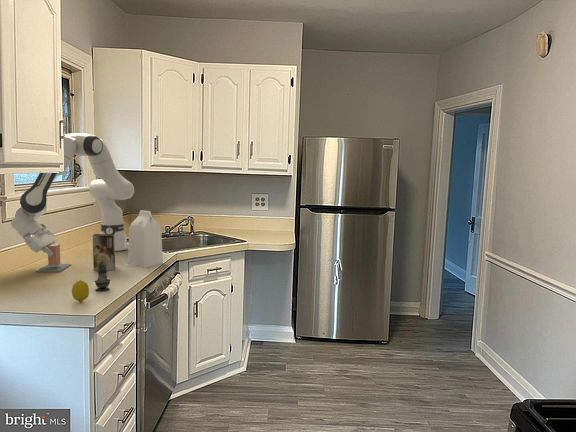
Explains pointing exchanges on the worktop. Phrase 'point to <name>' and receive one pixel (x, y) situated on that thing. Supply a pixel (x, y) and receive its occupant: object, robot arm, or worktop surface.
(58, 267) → the mat
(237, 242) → the worktop surface
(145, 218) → the milk
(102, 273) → the dark ornate vase
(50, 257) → the stub
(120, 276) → the worktop surface
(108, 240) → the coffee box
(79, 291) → the lemon
